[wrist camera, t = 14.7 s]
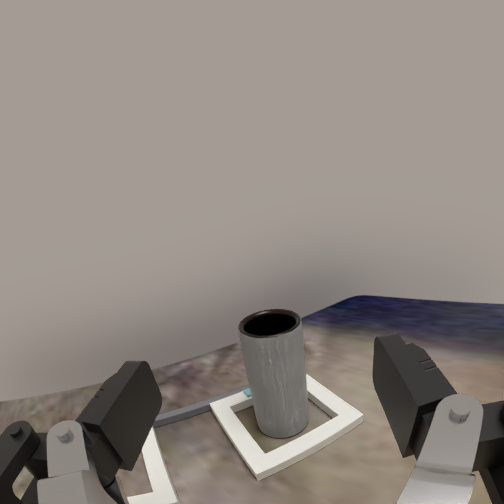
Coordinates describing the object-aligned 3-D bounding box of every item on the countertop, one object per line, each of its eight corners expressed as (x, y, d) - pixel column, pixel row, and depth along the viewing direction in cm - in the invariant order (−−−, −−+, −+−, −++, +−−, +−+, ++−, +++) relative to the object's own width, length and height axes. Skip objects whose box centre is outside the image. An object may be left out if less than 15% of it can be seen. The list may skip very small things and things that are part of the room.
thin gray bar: (253, 388, 28) (252, 382, 28) (257, 392, 27) (255, 386, 27) (107, 433, 21) (104, 428, 21) (107, 438, 21) (104, 433, 20)
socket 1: (154, 428, 22) (149, 419, 22) (182, 507, 14) (176, 500, 13) (65, 446, 18) (59, 437, 18) (65, 524, 10) (55, 516, 9)
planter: (310, 436, 20) (303, 333, 18) (255, 440, 20) (233, 339, 18) (307, 402, 24) (299, 305, 22) (259, 406, 25) (241, 311, 23)
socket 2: (298, 374, 29) (297, 365, 29) (362, 422, 20) (363, 412, 20) (211, 410, 25) (208, 401, 25) (258, 480, 16) (255, 472, 16)
